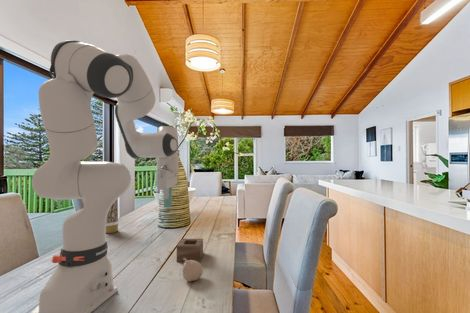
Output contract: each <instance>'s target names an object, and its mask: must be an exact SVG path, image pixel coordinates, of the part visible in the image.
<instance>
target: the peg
mask: <svg viewBox="0 0 470 313" xmlns="http://www.w3.org/2000/svg"><path fill="white" fill-rule="evenodd" d="M172 206H173V190H172V187H170V188H169V199H164V198H163V207H164V208H172Z"/></svg>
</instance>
